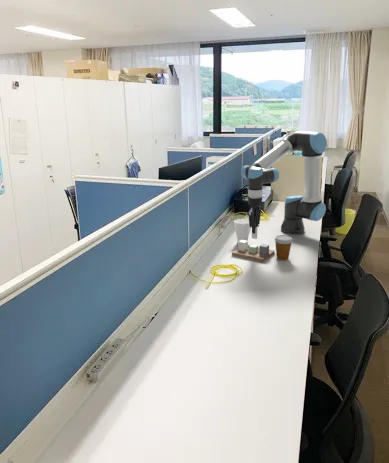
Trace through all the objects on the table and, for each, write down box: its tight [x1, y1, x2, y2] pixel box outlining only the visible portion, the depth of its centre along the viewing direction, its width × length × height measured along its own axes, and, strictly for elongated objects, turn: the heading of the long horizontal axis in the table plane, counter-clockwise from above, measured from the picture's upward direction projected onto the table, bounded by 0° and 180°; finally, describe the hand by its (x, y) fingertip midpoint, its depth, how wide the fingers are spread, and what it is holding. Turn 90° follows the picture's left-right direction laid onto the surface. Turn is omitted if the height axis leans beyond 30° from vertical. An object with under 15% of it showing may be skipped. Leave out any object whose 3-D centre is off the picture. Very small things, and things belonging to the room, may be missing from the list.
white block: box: [237, 240, 249, 251], centre depth 232 cm, size 4×4×5 cm
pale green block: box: [249, 243, 259, 254], centre depth 229 cm, size 4×4×5 cm
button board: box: [231, 244, 276, 263], centre depth 229 cm, size 15×19×2 cm
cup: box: [233, 218, 252, 244], centre depth 247 cm, size 10×10×14 cm
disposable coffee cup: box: [274, 234, 293, 261], centre depth 222 cm, size 10×10×12 cm
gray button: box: [258, 243, 270, 256], centre depth 225 cm, size 4×4×5 cm
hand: (254, 238), depth 227 cm, fingers closed
